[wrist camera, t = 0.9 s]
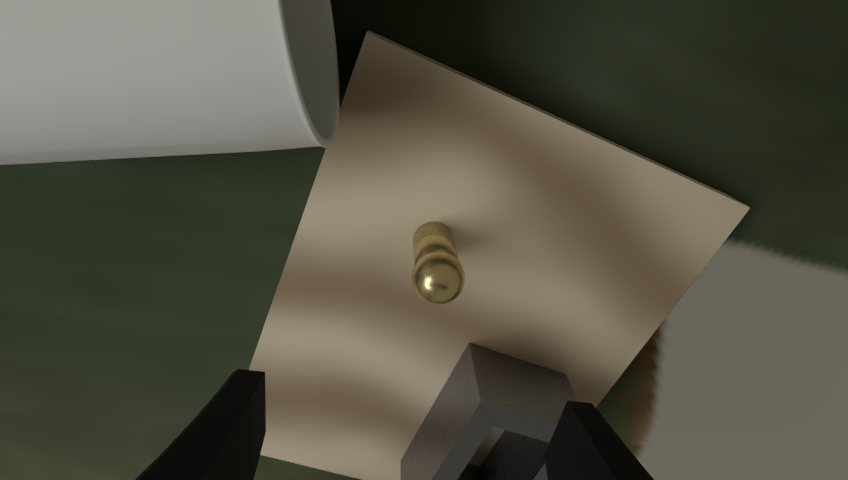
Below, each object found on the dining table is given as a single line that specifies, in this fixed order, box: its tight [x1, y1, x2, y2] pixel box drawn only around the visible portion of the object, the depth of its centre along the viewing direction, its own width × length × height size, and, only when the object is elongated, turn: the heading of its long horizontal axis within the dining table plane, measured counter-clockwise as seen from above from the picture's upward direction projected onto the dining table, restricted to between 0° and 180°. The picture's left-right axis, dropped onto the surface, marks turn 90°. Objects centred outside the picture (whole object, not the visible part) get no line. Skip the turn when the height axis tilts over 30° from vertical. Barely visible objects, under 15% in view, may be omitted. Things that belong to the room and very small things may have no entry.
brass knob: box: [412, 222, 465, 305], centre depth 17 cm, size 2×2×4 cm
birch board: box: [249, 30, 750, 480], centre depth 22 cm, size 20×16×2 cm
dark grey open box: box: [401, 343, 578, 480], centre depth 21 cm, size 8×5×4 cm, turn 157°
